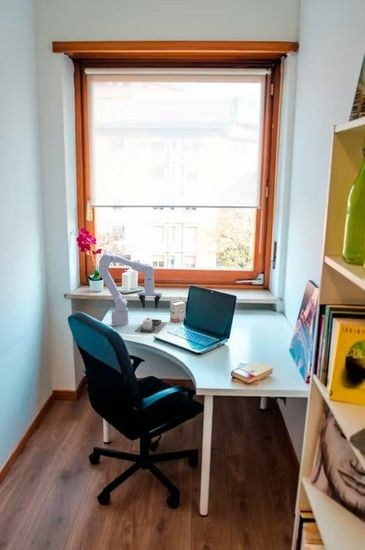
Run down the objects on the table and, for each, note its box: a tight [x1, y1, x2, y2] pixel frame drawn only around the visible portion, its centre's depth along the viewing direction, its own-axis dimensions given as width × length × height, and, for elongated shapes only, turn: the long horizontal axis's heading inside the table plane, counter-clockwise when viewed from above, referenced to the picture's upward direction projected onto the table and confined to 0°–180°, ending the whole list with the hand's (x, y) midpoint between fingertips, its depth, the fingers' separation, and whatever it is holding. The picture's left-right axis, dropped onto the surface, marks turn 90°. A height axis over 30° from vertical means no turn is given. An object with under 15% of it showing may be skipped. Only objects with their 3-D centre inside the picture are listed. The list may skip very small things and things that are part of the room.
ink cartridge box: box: [169, 296, 186, 323], centre depth 248 cm, size 9×5×15 cm, turn 130°
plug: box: [142, 317, 153, 330], centre depth 231 cm, size 4×4×7 cm
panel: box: [133, 318, 168, 335], centre depth 237 cm, size 14×20×2 cm
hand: (150, 307), depth 244 cm, fingers open, 7 cm apart
